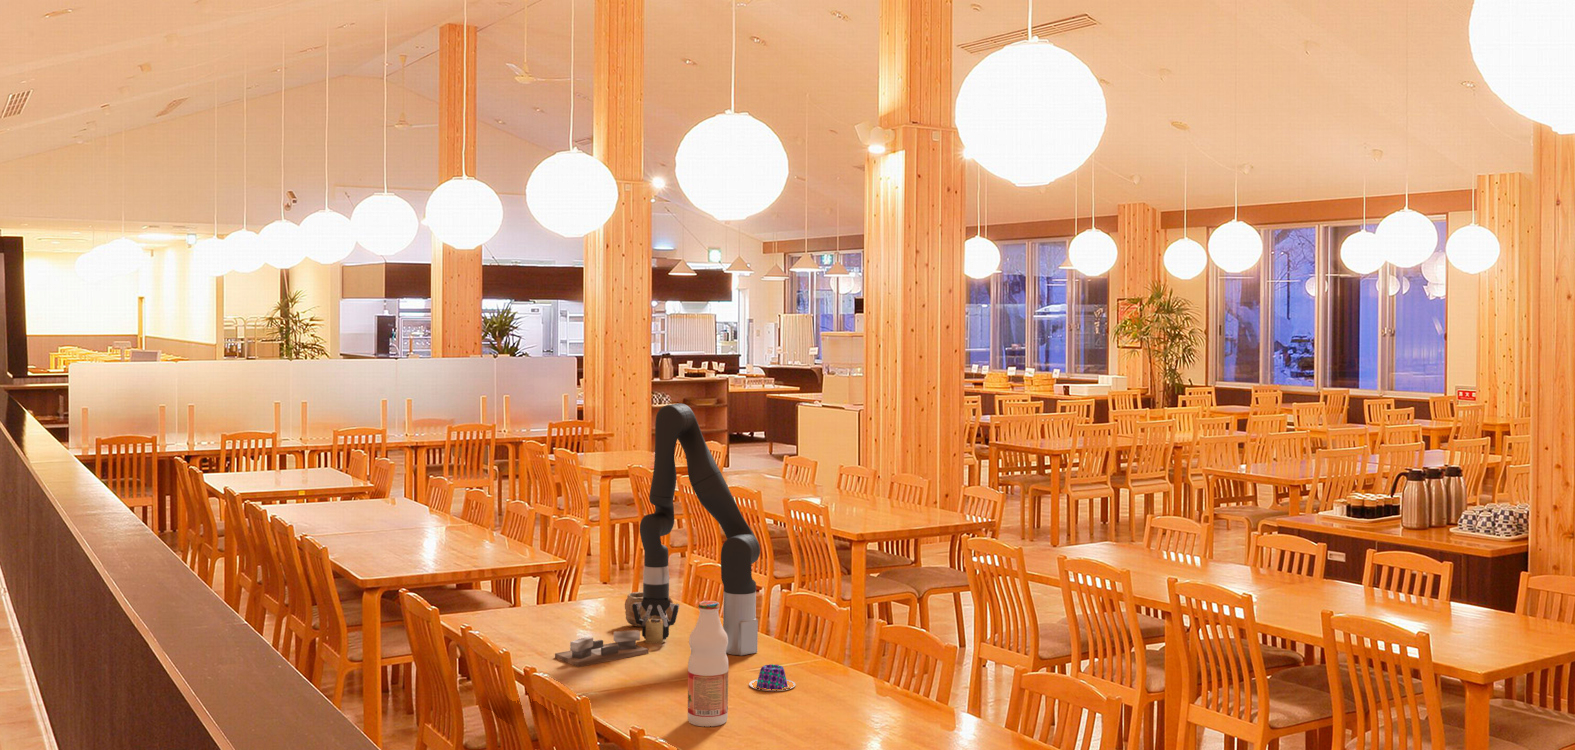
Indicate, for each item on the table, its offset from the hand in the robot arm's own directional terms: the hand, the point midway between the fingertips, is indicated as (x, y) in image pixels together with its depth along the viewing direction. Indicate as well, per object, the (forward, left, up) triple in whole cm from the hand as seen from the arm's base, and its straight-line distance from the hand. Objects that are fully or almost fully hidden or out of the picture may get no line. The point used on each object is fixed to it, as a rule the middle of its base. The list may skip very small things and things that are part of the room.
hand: (655, 638), depth 372 cm
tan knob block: (0, 0, -1) cm, 1 cm away
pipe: (+18, -10, -1) cm, 21 cm away
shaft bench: (-4, +21, -1) cm, 21 cm away
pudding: (-56, +3, -1) cm, 56 cm away
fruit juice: (-69, +34, -1) cm, 77 cm away
